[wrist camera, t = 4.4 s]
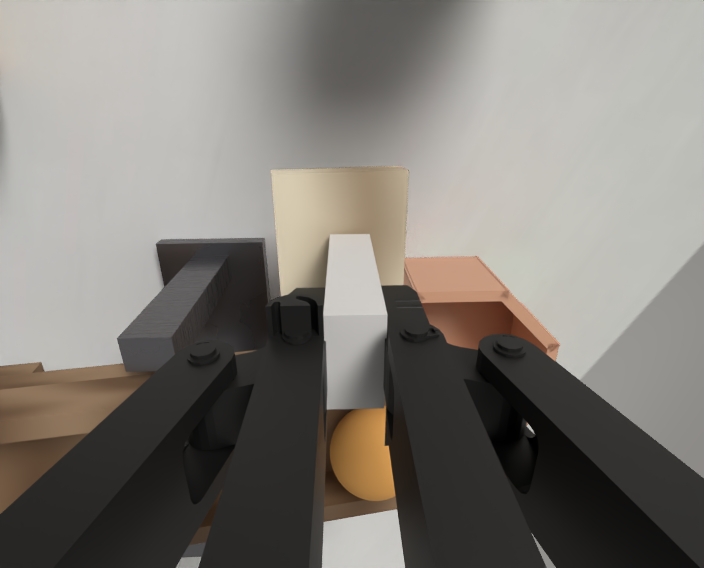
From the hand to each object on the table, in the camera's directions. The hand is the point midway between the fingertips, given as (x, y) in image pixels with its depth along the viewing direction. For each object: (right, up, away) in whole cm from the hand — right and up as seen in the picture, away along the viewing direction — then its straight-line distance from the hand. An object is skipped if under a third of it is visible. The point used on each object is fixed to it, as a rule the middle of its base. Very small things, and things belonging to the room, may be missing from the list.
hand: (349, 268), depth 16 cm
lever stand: (-8, -4, +11) cm, 14 cm away
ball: (+1, -8, +3) cm, 9 cm away
